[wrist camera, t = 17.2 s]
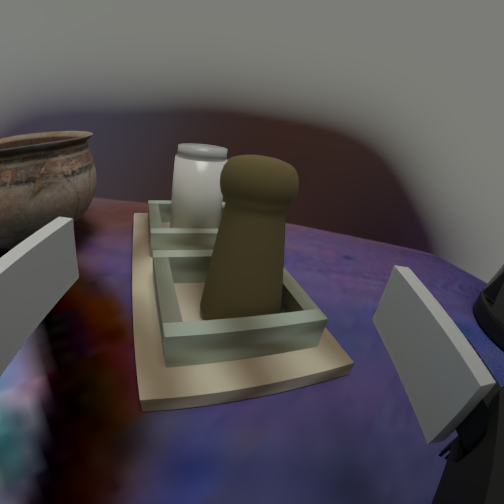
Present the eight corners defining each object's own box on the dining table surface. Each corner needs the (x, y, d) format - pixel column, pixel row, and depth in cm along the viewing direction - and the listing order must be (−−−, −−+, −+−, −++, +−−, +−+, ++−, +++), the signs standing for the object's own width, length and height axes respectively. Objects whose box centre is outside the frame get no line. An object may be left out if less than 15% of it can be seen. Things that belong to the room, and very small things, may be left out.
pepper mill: (233, 286, 26) (251, 157, 23) (295, 311, 23) (322, 167, 20) (182, 306, 21) (198, 148, 18) (251, 341, 18) (281, 155, 15)
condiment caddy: (231, 222, 43) (235, 197, 42) (348, 374, 19) (367, 336, 18) (134, 221, 38) (134, 195, 36) (142, 411, 14) (134, 370, 12)
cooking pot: (41, 202, 40) (41, 130, 35) (134, 217, 39) (139, 130, 34) (-73, 268, 17) (-90, 166, 12) (8, 321, 17) (-23, 164, 12)
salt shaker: (211, 226, 37) (221, 145, 33) (223, 245, 33) (235, 152, 28) (167, 226, 35) (174, 142, 31) (172, 246, 31) (179, 148, 26)
